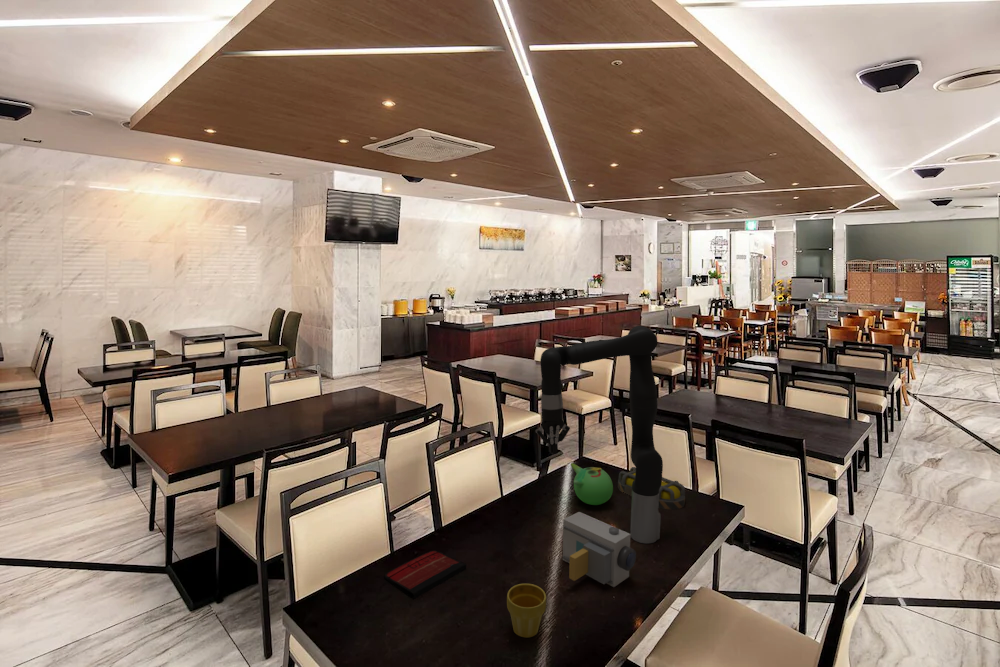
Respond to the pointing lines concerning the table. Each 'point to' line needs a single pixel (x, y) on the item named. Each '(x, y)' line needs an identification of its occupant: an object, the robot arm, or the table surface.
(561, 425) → the robot arm
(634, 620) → the table surface
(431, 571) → the binder
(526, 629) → the plant pot
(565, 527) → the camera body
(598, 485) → the toy bird
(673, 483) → the cage light
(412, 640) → the table surface
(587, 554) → the door
